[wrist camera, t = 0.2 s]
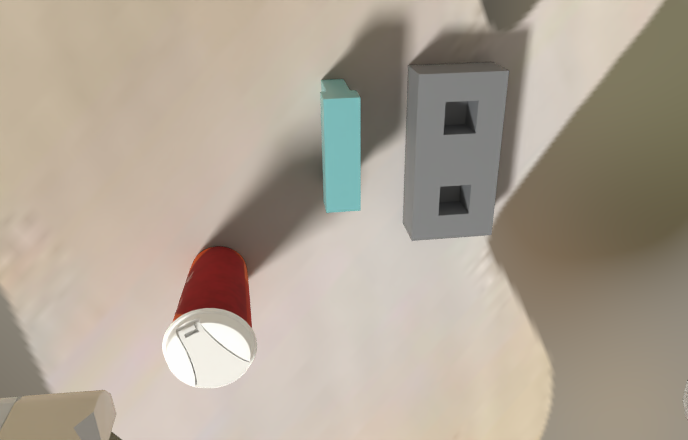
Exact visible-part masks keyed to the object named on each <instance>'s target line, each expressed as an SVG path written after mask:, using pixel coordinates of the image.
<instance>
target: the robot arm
mask: <svg viewBox="0 0 688 440" xmlns="http://www.w3.org/2000/svg"><path fill="white" fill-rule="evenodd" d="M683 403H684V408H685V414H686V419H687V421H688V380H687V384H686V387H685V391H684V396H683ZM115 417H116V411H115V407H114V404H113V400H112V396H111V394H110V393H109V392H107V391H106V390H97V391H84V392H70V393H57V394H44V395H30V396H23V397H12V398H0V440H122V439H120V438H119V437H118V436H117V435H115V434H114V433H113V432H111V431H112V427H113V424H114V420H115Z"/></svg>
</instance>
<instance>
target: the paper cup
mask: <svg viewBox="0 0 688 440" xmlns="http://www.w3.org/2000/svg"><path fill="white" fill-rule="evenodd" d="M162 350H163V354H164V357H165V359H166V362H167V364H168V366H169V368H170V370H171V371H172V373H173V374H174V375H175V376H176V377H177V378H178V379H179V380H181V381H182V382H184V383H186V384H188V385H190V386H193V387H199V388H218V387H222V386H225V385H228V384H230V383H232V382H234V381H236V380H238V379H239V378H240V377H241V376H242V375H243V374H244V373H245V372H246V371H247V369H248V367H249V366H250V365H251V363H252V362H253V360H254V357H255V355H256V351H257V342H256V337H255V334H254V332H253V330H252V322H251V309H250V296H249V284H248V274H247V267H246V264H245V261H244V259H243V258H242V256H241V255H240V254H239V253H237V252H236V251H234V250H233V249H230V248H227V247H222V246H216V247H210V248H207V249H205V250H203V251H202V252H200V253H199V254H198V255H197V256H196V258H195V259H194V261H193V263H192V266H191V268H190V271H189V274H188V277H187V280H186V283H185V286H184V289H183V292H182V295H181V298H180V301H179V304H178V307H177V310H176V313H175V316H174V319H173V322H172V324H171V325H170V326H169V327H168V329H167V331H166V332H165V335H164V338H163V343H162Z"/></svg>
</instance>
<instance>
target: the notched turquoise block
mask: <svg viewBox="0 0 688 440" xmlns="http://www.w3.org/2000/svg"><path fill="white" fill-rule="evenodd" d="M321 88H322V92H320V96H321V129H322V163H323V196H324V205H325V209H326V213H330V212H345V211H360V96H359V94H358V93H357V91H356V90H349V88H348V86H347V85H346V83H345V81H344V80H343V79H330V80H321Z"/></svg>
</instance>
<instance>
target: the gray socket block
mask: <svg viewBox="0 0 688 440" xmlns="http://www.w3.org/2000/svg"><path fill="white" fill-rule="evenodd" d="M508 76H509V70H507V69H505V68H503V67H501V66H499V65H497V64H495V63H494V62H481V63H455V64H429V65H408V87H407V116H406V145H405V174H404V203H403V224H404V226H405V228H406V230H407V232H408V234H409V236H410V238H411V240H412V241H415V240H429V239H443V238H457V237H470V236H484V235H491V234H492V224H493V215H494V206H495V197H496V187H497V178H498V169H499V160H500V150H501V141H502V132H503V123H504V113H505V104H506V95H507V86H508Z"/></svg>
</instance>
